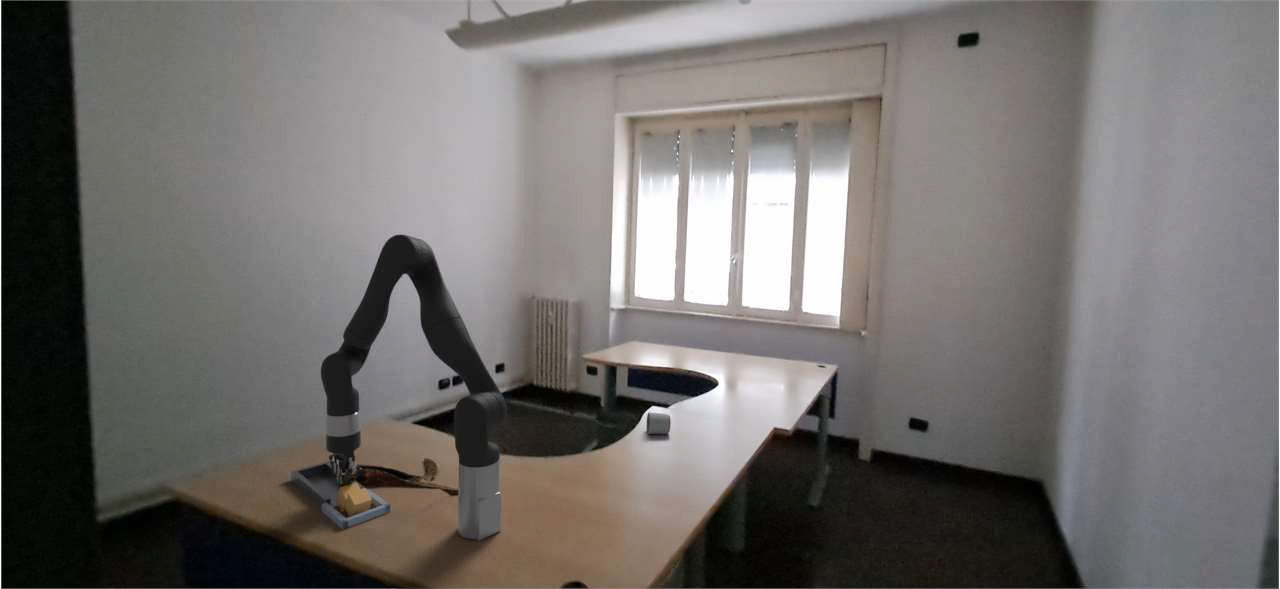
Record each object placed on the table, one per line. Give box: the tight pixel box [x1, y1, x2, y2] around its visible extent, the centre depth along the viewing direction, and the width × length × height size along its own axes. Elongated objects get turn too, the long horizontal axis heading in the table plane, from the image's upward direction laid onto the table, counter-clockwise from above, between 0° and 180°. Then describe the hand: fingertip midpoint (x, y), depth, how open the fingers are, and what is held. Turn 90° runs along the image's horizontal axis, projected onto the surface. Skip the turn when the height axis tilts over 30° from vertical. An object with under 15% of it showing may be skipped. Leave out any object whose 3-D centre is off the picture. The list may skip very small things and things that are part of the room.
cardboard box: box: [345, 487, 372, 517], centre depth 129 cm, size 4×4×5 cm
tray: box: [321, 488, 391, 530], centre depth 130 cm, size 12×11×3 cm
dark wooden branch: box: [355, 457, 459, 496], centre depth 153 cm, size 23×6×30 cm
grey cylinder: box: [646, 411, 672, 435], centre depth 197 cm, size 11×8×8 cm
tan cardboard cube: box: [337, 482, 361, 512], centre depth 132 cm, size 4×4×5 cm
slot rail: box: [290, 460, 366, 508], centre depth 141 cm, size 23×9×4 cm, turn 51°
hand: (344, 496), depth 134 cm, fingers closed
